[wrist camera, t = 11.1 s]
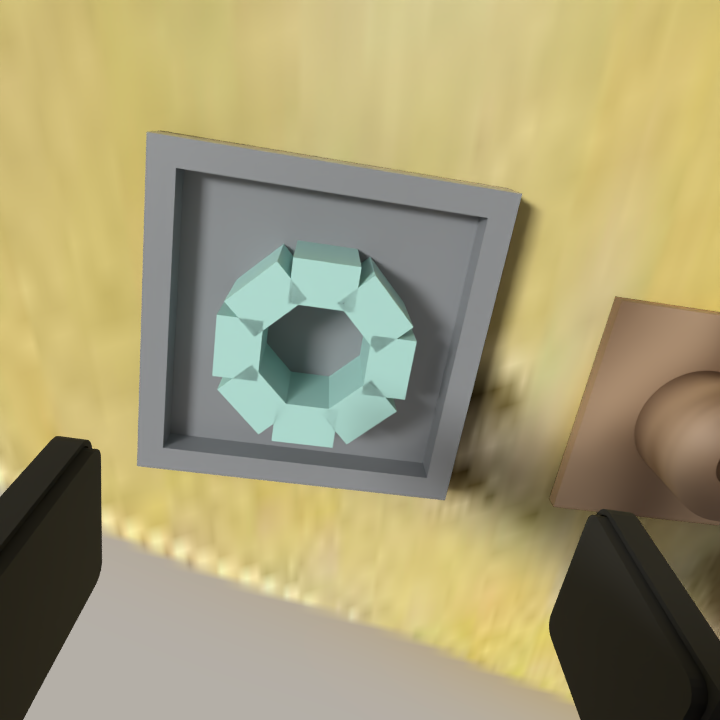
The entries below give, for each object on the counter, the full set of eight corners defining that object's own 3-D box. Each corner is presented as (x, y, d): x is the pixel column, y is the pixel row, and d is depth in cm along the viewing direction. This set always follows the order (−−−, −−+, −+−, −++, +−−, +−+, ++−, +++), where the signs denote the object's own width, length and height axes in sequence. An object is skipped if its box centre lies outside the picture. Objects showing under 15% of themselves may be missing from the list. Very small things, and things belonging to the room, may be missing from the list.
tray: (508, 188, 23) (522, 194, 21) (438, 477, 28) (444, 500, 26) (161, 130, 22) (146, 131, 20) (149, 444, 26) (136, 466, 25)
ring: (417, 258, 23) (429, 277, 20) (386, 418, 26) (393, 454, 23) (235, 230, 23) (221, 247, 20) (221, 398, 25) (207, 433, 22)
